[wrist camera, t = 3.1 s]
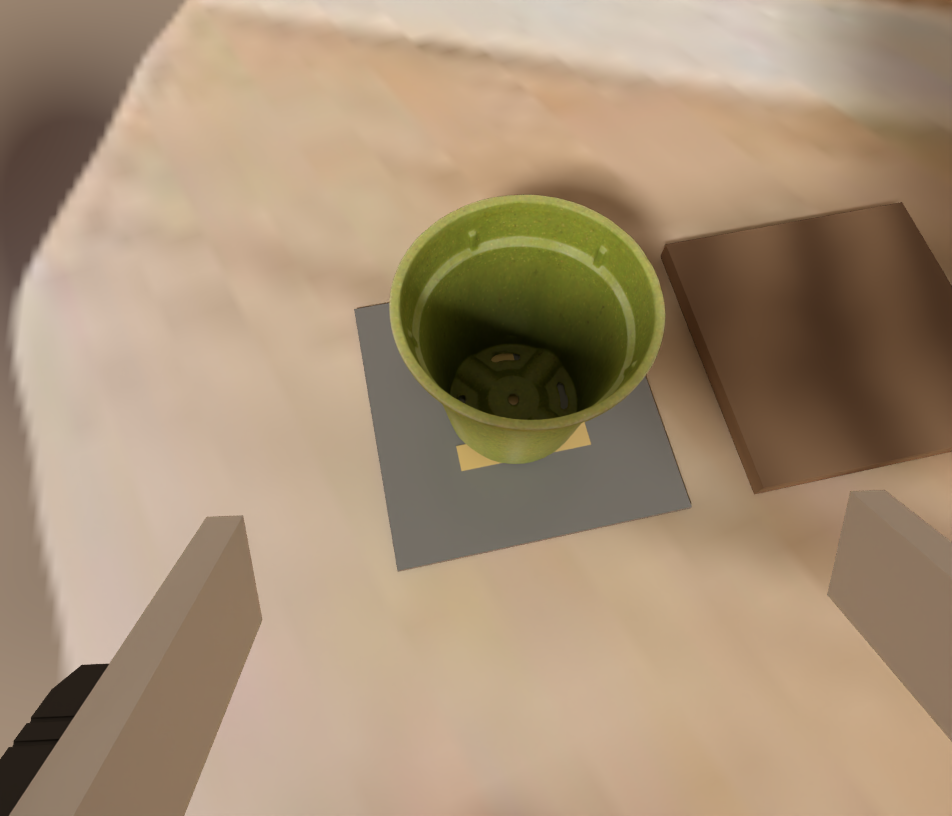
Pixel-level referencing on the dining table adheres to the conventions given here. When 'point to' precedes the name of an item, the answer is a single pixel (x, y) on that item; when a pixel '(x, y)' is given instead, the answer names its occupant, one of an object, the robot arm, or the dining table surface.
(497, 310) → the plant pot
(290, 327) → the dining table surface
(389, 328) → the slate mat
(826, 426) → the walnut board
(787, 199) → the dining table surface
